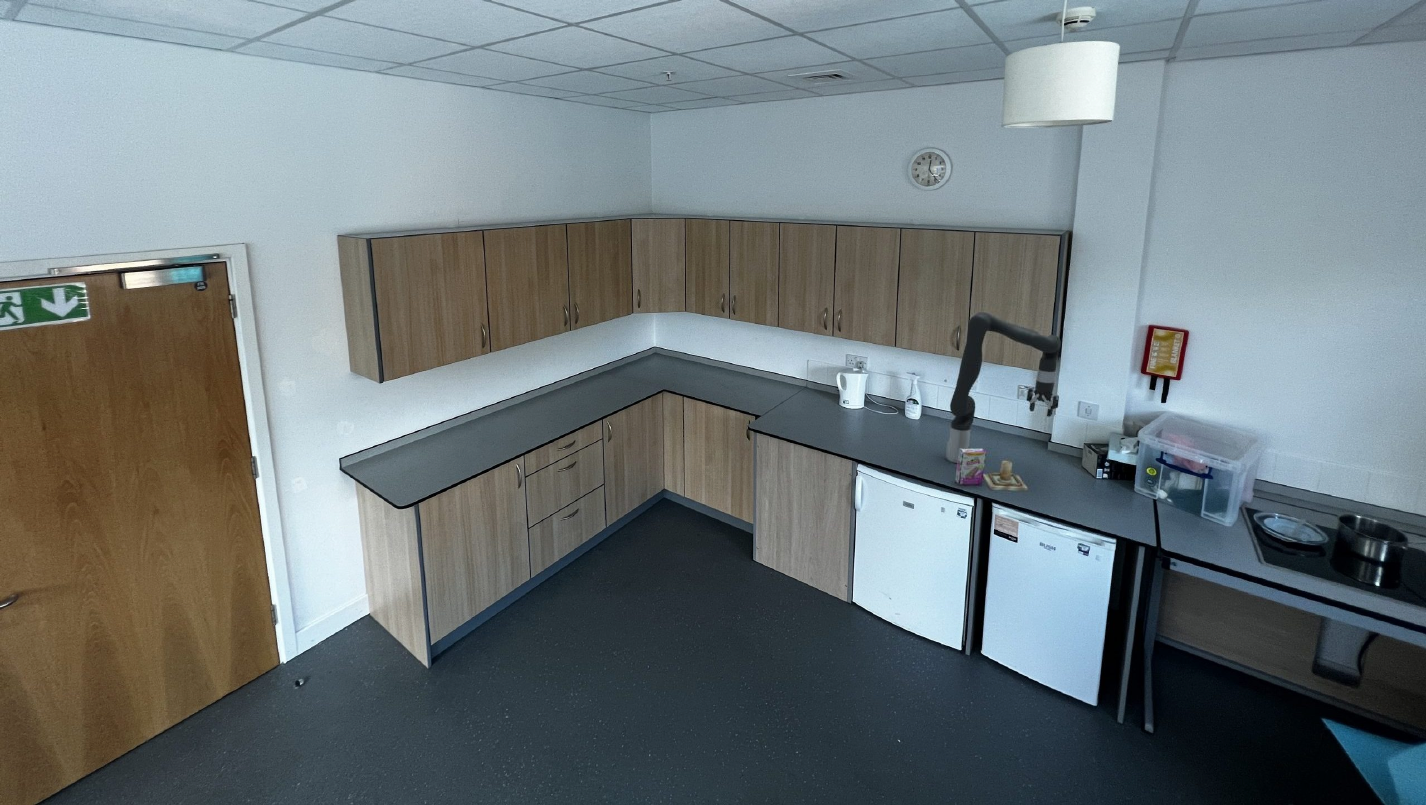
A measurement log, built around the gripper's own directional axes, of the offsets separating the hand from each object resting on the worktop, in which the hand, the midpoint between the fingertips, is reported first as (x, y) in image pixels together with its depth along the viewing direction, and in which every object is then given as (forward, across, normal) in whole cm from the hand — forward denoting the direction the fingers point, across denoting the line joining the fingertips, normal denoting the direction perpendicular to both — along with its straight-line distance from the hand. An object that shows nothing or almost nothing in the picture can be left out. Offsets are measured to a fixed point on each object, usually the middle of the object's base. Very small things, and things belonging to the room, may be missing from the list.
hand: (1040, 413), depth 324 cm
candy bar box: (+32, -12, -29) cm, 45 cm away
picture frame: (+32, -2, -16) cm, 36 cm away
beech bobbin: (+30, -3, -16) cm, 35 cm away
